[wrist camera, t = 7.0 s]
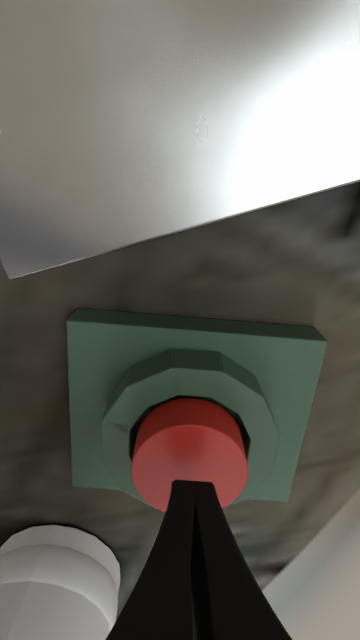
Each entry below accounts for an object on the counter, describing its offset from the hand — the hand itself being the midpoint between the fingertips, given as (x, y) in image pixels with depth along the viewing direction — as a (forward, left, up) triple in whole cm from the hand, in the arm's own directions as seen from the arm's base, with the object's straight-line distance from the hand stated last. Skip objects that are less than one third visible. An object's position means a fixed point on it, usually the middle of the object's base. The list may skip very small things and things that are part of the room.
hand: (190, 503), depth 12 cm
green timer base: (0, 0, -6) cm, 6 cm away
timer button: (0, 0, -3) cm, 3 cm away
